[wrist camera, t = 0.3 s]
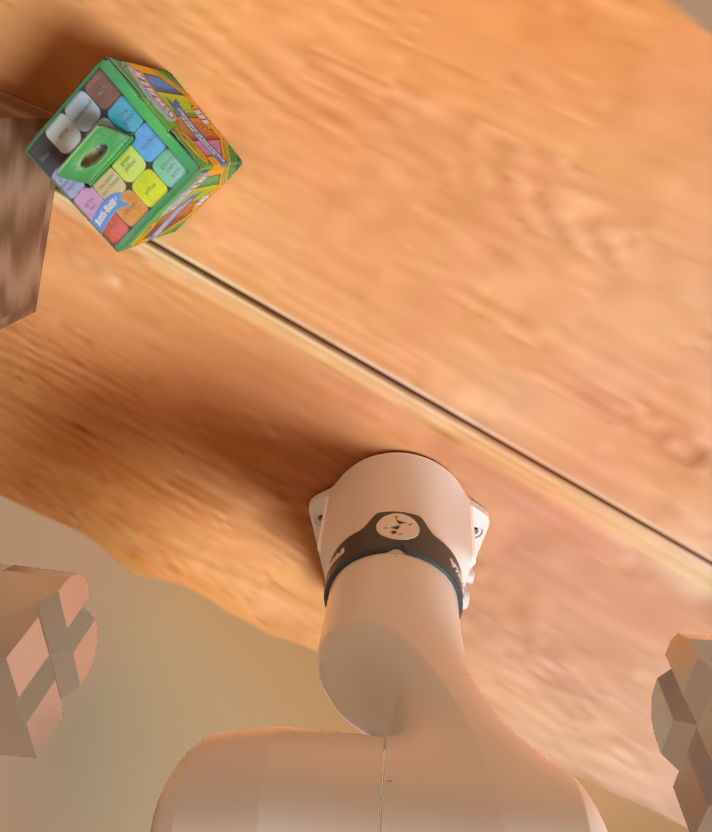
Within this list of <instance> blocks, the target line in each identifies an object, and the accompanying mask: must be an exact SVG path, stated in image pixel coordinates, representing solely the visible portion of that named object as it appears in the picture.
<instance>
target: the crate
mask: <svg viewBox="0 0 712 832" xmlns="http://www.w3.org/2000/svg"><path fill="white" fill-rule="evenodd" d="M54 114H55V113H52V112H50V111H48V110H45V109H43V108H41V107H38V106H36V105H34V104H31V103H29V102H27V101H24V100H22V99H19V98H17V97H15V96H12V95H10V94H8V93H5V92H3V91H1V90H0V329H1V328H3V327H5V326H7V325H9V324H11V323H13V322H15V321H17V320H19V319H21V318H23V317H25V316H27V315H29V314H31V313H33V312H35V310H36V304H37V298H38V291H39V285H40V279H41V273H42V266H43V260H44V254H45V248H46V241H47V235H48V229H49V223H50V216H51V210H52V204H53V198H54V191H55V184H54V183H53V182H52V180H51V179H50V178H48V176H47V175H46V174H45V173H44V172H43V171H42V170H41V169H40V167H39V166H38V165H37V164H36V163H35V162H34V161H33V160H32V159H31V158H30V157H29V156H28V155H27V153H25V151H24V150H25V147H26V146H27V144H28V143H29V142H30V141H31V140H32V139H33V138H34V137H35V136H36V135H37V133H38V132H39V131H40V130H41V129H42V128H43V126H44V125H45V124H46V123H47V122H48V121H49V120H50V118H51V117H52V116H53V115H54Z"/></svg>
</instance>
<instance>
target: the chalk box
mask: <svg viewBox="0 0 712 832" xmlns="http://www.w3.org/2000/svg"><path fill="white" fill-rule="evenodd" d="M24 151H25V153H27V155H28V156H29V157H30V158H31V159H32V160H33V161H34V162H35V163H36V164H37V165H38V166H39V167H40V169H41V170H42V171H43V172H44V173H45V174H46V175H47V176H48V178H50V179H51V180H52V182H53V183H54V184H55V185H56V186H57V187H58V188H59V189H60V190H61V191H62V192H63V193H64V195H65V196H66V197H67V198H68V199H69V200H70V201H71V202H72V203H73V204H74V205H75V206H76V208H77V209H79V211H80V212H81V213H82V214H83V215H84V216H85V217H86V218H87V220H88V221H89V222H90V223H91V224H92V225H93V226H94V227H95V228H96V229H97V230H98V231H99V233H100V234H102V236H103V237H104V238H105V239H106V240H107V241H108V242H109V243H110V245H111V246H113V248H114V249H115V250H116V251H117V252H120V251H123V250H126V249H128V248H131V247H134V246H136V245H139V244H141V243H144V242H147V241H149V240H152V239H155V238H157V237H160V236H163V235H166V234H168V233H171V232H174V231H176V230H177V229H178V228H179V227H180V226H181V225H182V224H183V223H184V222H185V221H186V220H187V219H188V218H189V217H190V216H191V215H192V214H193V213H194V212H195V211H196V210H197V209H198V208H199V207H200V206H201V205H202V204H203V203H204V202H205V201H206V200H207V199H208V198H209V197H210V196H211V195H212V194H213V193H214V192H215V191H216V190H217V189H218V188H219V187H220V186H221V185H222V184H223V183H224V182H225V181H226V180H227V179H228V178H229V177H230V176H231V175H232V174H233V173H234V172H235V171H236V170H237V169H238V168H239V167H240V166H241V164H242V161H241V159H240V158H239V157H238V155H237V154H236V153H235V152H234V150H233V149H232V148H231V146H230V145H229V144H228V142H227V141H226V140H225V139H224V138H223V136H222V135H221V134H220V133H219V131H218V130H217V129H216V128H215V126H214V125H213V124H212V123H211V122H210V120H209V119H208V118H207V117H206V115H205V114H204V113H203V112H202V111H201V109H200V108H199V107H198V106H197V104H196V103H195V102H194V101H193V100H192V98H191V97H190V96H189V95H188V94H187V92H186V91H185V90H184V89H183V87H182V86H181V85H180V84H179V82H178V81H177V80H176V79H175V78H174V76H173V75H172V74H171V73H169V72H166V71H162V70H158V69H154V68H150V67H146V66H142V65H138V64H134V63H129V62H126V61H122V60H117V59H114V58H110V57H107V58H106V59H105V60H101V61H100V62H99V63H98V64H97V65H96V66H95V67H94V68H93V69H92V70H91V71H90V73H89V74H88V75H87V76H86V77H85V78H84V80H83V81H82V82H81V83H80V84H79V86H78V87H77V88H76V89H75V90H74V91H73V92H72V94H71V95H70V96H69V97H68V98H67V100H66V101H65V102H64V103H63V104H62V105H61V107H60V108H59V109H58V110H57V111H56V113H55V114H54V115H53V116H52V117H51V118H50V120H49V121H48V122H47V123H46V124H45V125H44V126H43V128H42V129H41V130H40V131H39V132H38V133H37V135H36V136H35V137H34V138H33V139H32V140H31V141H30V142H29V143H28V144H27V146H26V147H25V150H24Z"/></svg>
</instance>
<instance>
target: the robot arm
mask: <svg viewBox="0 0 712 832" xmlns="http://www.w3.org/2000/svg"><path fill="white" fill-rule="evenodd" d="M309 513H310V518H311V522H312V526H313V530H314V535H315V539H316V543H317V549H318V552H319V556H320V560H321V564H322V569H323V573H324V577H325V584H324V586H325V590H324V601H325V607H326V611H325V616H324V621H323V626H322V632H321V637H320V642H319V647H318V652H317V670H318V675H319V679H320V682H321V685H322V687H323V689H324V691H325V693H326V695H327V697H328V698H329V700H330V701H331V703H332V705H333V706H334V708H335V709H336V710H337V712H338V713H339V714H340V715H341V716H342V717H343V718H344V719H345V720H346V721H347V722H348V723H350V724H351V725H353V726H354V727H355V728H357V729H358V730H359V731H361V732H362V733H364V734H365V735H362V734H353V733H343V732H333V731H324V730H315V729H306V728H296V727H287V726H275V727H263V728H252V729H243V730H236V731H229V732H221V733H214V734H209V735H207V736H205V737H204V738H203V739H201V740H200V741H199V742H198V743H197V744H195V746H193V747H192V748H191V750H189V751H188V752H187V753H186V755H185V756H184V757H183V758H182V759H181V761H180V762H179V763H178V764H177V766H176V767H175V769H174V770H173V772H172V774H171V775H170V777H169V779H168V780H167V782H166V784H165V786H164V789H163V791H162V793H161V795H160V797H159V800H158V803H157V806H156V809H155V813H154V816H153V820H152V825H151V831H150V832H379V816H380V801H381V784H382V766H383V750H385V758H384V773H383V787H382V802H381V818H380V832H607V829H606V827H605V825H604V822H603V820H602V818H601V816H600V814H599V811H598V810H597V808H596V807H595V805H594V803H593V801H592V799H591V798H590V796H589V795H588V794H587V792H586V791H585V789H584V788H583V787H582V785H581V784H580V783H579V782H578V781H577V780H576V779H575V777H574V776H573V775H572V774H571V773H570V772H568V771H567V770H565V769H564V768H562V767H560V766H559V765H557V764H555V763H554V762H552V761H551V760H549V759H547V758H546V757H545V756H543V755H542V754H540V753H539V752H538V751H536V750H535V749H533V748H532V747H531V746H530V745H529V744H527V743H526V742H525V741H524V740H523V739H521V738H520V737H519V736H518V735H517V734H516V733H515V732H514V731H513V730H512V729H511V728H510V727H509V726H508V725H507V724H506V723H505V722H504V721H503V720H502V719H501V718H500V717H499V715H498V714H497V713H496V712H495V711H494V710H493V708H492V707H491V706H490V704H489V703H488V702H487V701H486V699H485V698H484V696H483V695H482V694H481V692H480V691H479V689H478V687H477V686H476V684H475V682H474V680H473V678H472V676H471V674H470V672H469V669H468V666H467V662H466V657H465V652H464V647H463V642H462V636H461V628H460V618H461V614H462V610H464V609H467V607H468V604H469V599H470V589H469V588H468V587H466V586H465V584H466V583H472V582H473V580H474V575H475V571H474V570H473V569H472V567H473V565H475V562H476V557H477V554H478V552H479V549H480V546H481V544H482V541H483V539H484V536H485V534H486V531H487V529H488V526H489V513H488V512H487V511H486V510H485V509H484V508H483V507H482V506H480V505H479V504H477V503H476V502H474V501H473V500H471V499H470V498H469V497H468V496H467V495H466V493H465V492H464V490H463V489H462V487H461V486H460V484H459V482H458V481H457V480H456V479H455V477H454V476H453V475H452V474H451V473H450V472H449V471H448V470H446V469H445V468H444V467H442V466H441V465H439V464H438V463H436V462H434V461H432V460H430V459H428V458H425V457H422V456H419V455H415V454H410V453H400V452H393V453H383V454H378V455H375V456H371V457H368V458H366V459H364V460H362V461H360V462H358V463H356V464H355V465H353V466H352V467H351V468H349V469H348V470H347V471H346V472H345V473H344V474H343V475H342V476H341V478H340V479H339V480H338V481H337V482H336V484H335V485H334V486H332V487H331V488H330V489H327V490H325V491H323V492H321V493H319V494H317V495H316V496H314V497H313V498H312V499H311V500H310V503H309ZM320 515H323V517H322V518H321V517H320ZM474 527H476V528H477V529H476V530H474ZM89 596H90V592H89V587H88V583H87V580H86V577H85V576H82V575H80V574H78V573H72V572H64V571H56V570H48V569H40V568H32V567H24V566H16V565H13V566H9V565H2V564H0V755H10V756H20V757H31V758H37V756H38V755H39V753H40V752H41V750H42V748H43V747H44V745H45V743H46V742H47V740H48V739H49V737H50V735H51V734H52V732H53V730H54V729H55V727H56V725H57V724H58V722H59V721H60V719H61V717H62V716H63V714H64V713H63V706H62V698H63V697H65V696H66V695H68V694H69V693H71V692H72V691H74V690H75V689H77V688H78V687H80V686H81V684H82V683H83V681H84V679H85V677H86V676H87V674H88V672H89V671H90V669H91V665H92V663H93V659H94V656H95V652H96V649H97V638H98V630H97V625H96V620H95V618H94V617H93V616H92V615H91V614H90V613H89V612H88V611H87V610H86V609H85V608H84V607H83V605H84V604H85V602H86V601H87V599H88V598H89ZM666 657H667V659H668V662H669V664H670V666H671V669H670V670H669V671H667V672H666V673H664V674H663V675H661V676H660V677H658V678H657V680H656V684H655V687H654V691H653V694H652V709H651V718H652V724H653V729H654V734H655V737H656V740H657V743H658V746H659V749H660V752H661V754H662V755H663V756H664V757H665V758H666V759H667V760H668V761H669V762H670V763H671V764H672V765H674V766H675V767H676V768H677V769H678V770H679V773H678V775H677V778H676V780H675V783H674V786H673V788H674V791H675V794H676V796H677V799H678V802H679V804H680V807H681V810H682V813H683V815H684V818H685V821H686V823H687V826H688V829H689V832H712V636H702V635H691V634H681V633H677V634H676V635H675V636H674V638H673V639H672V640H671V641H670V644H669V646H668V649H667V652H666Z"/></svg>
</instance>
